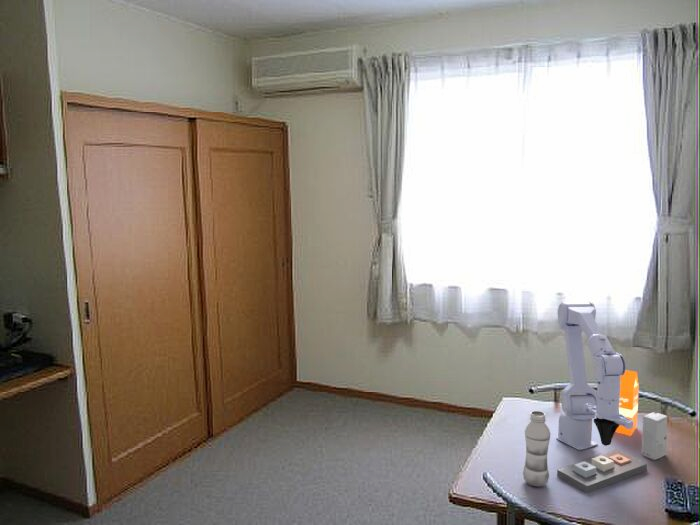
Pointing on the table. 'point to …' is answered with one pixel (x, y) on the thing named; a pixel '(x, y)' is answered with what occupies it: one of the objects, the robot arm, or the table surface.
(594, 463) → the cream key
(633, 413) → the orange juice
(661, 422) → the skincare box
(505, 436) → the table surface
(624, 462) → the terracotta key
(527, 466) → the plastic bottle
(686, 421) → the table surface
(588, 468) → the grey blue key
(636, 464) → the keypad
